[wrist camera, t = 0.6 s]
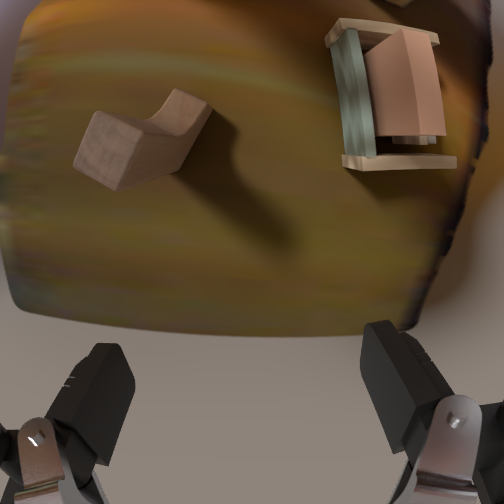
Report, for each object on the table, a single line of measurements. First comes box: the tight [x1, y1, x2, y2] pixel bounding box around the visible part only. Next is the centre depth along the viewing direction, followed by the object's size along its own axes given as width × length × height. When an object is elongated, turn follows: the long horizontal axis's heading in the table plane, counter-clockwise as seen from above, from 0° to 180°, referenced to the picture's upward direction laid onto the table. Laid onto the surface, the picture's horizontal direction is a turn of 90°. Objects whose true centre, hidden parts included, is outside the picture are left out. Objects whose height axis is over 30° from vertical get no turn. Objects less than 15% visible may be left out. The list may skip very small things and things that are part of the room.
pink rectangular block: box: [363, 28, 446, 137], centre depth 25 cm, size 10×3×14 cm, turn 7°
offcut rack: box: [324, 18, 457, 171], centre depth 28 cm, size 18×13×7 cm
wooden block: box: [73, 88, 213, 192], centre depth 25 cm, size 9×4×18 cm, turn 150°
